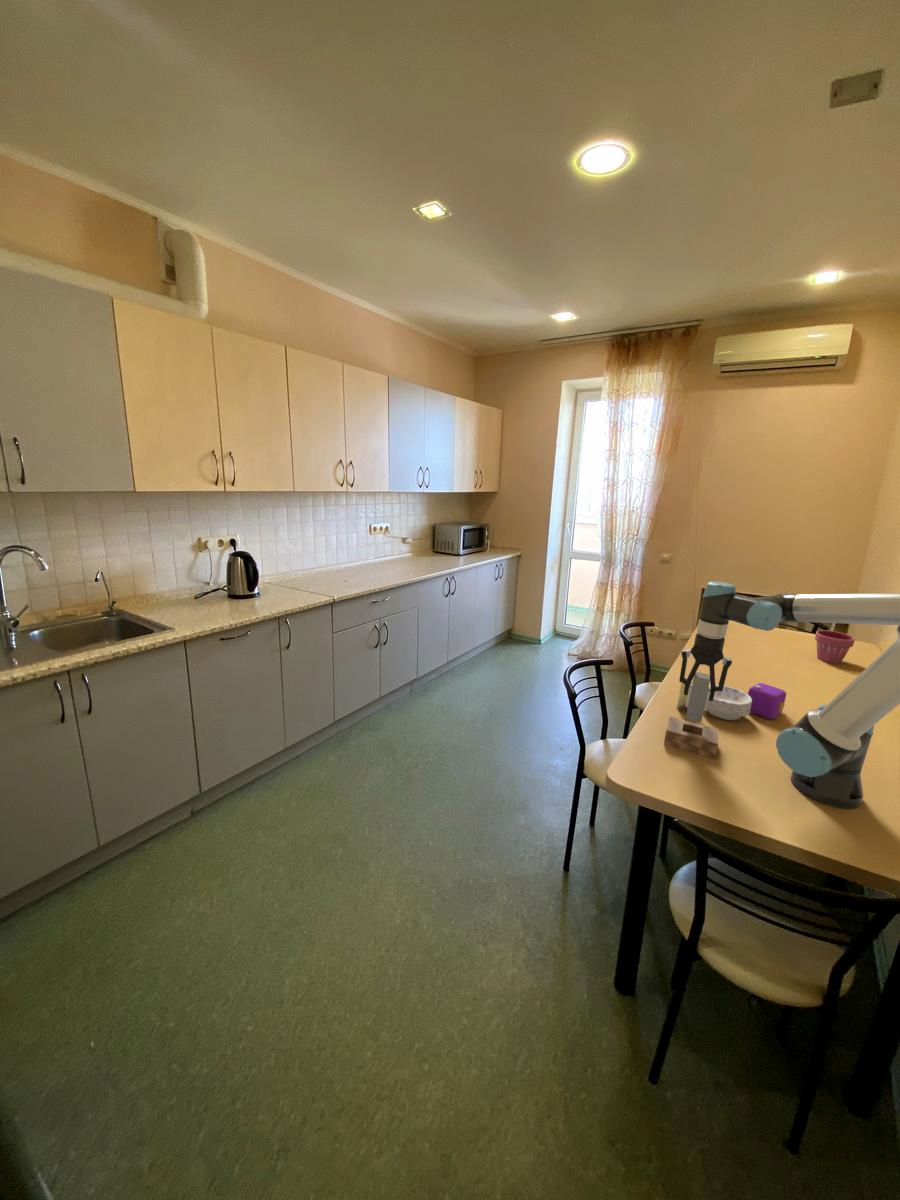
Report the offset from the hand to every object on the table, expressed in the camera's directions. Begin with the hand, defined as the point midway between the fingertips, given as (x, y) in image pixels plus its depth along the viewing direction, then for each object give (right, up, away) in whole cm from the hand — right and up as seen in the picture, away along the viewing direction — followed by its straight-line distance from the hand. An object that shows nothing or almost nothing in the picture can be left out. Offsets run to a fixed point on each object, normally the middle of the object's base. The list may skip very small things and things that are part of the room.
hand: (696, 706), depth 143 cm
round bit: (+9, -7, +25) cm, 28 cm away
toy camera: (+39, -8, +27) cm, 47 cm away
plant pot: (+105, +4, +80) cm, 133 cm away
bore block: (0, -12, +3) cm, 13 cm away
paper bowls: (+22, -8, +23) cm, 33 cm away
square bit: (0, -4, +1) cm, 4 cm away
